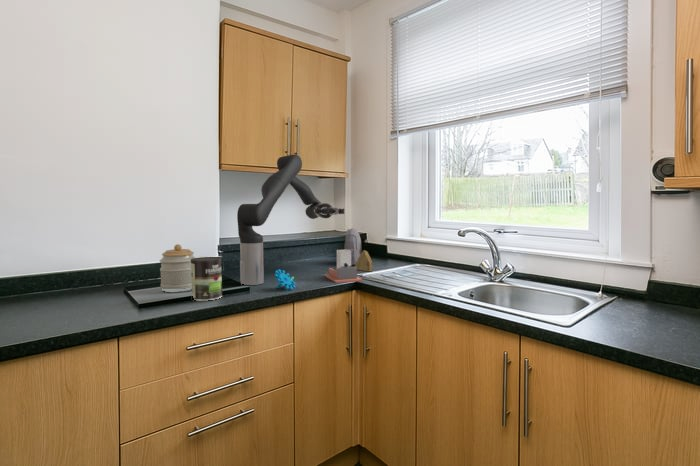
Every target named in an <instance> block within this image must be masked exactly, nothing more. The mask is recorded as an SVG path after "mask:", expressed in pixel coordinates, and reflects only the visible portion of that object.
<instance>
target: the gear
mask: <svg viewBox="0 0 700 466" xmlns="http://www.w3.org/2000/svg"><path fill="white" fill-rule="evenodd" d="M274 271H275V272H274V275H273V276H274V278H276V279H275V280H276V282H277V283H278V284H277V286H275V287H276V289H277V288H278V289H279V288H280V287H284V289H286V290H289V291H293V290H294V289H295V288H296V282H295V281H294V279H295V277H294V275H293V276H292V277H290V274H289V272H287V273H286V271H285V270H284V269H283V270H281V269H277V270H274Z"/></svg>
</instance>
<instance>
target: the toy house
mask: <svg viewBox="0 0 700 466" xmlns="http://www.w3.org/2000/svg"><path fill="white" fill-rule="evenodd" d="M354 267H357V271H363V272H364V271H365V272H373V271H374V269H373V268H374V266H373V261H372V258H371V256H370V254H369V251H367V250H365V249H363V250H362V251H361V255H360V256H359V258H358V260H357V262H356V264H355V265H354Z"/></svg>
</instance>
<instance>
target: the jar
mask: <svg viewBox="0 0 700 466" xmlns="http://www.w3.org/2000/svg"><path fill="white" fill-rule="evenodd" d="M161 256H162V257H161V259H159V262H160V263H161V264H160V265H161V267H160V268H159V271H160V289H161V288H163V289H186V288H191V287H192V277H191V259H193V258H196V257H195V256H194V251H192V250H190V249H189V248H187V249H185V248H182V245H181V244H179V243H178V244H175V245H174V247H173V249H169V250H165V252H163V253H161Z"/></svg>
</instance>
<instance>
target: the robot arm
mask: <svg viewBox="0 0 700 466" xmlns="http://www.w3.org/2000/svg"><path fill="white" fill-rule="evenodd" d="M276 161H277V162H276V166H277V170H278V171H276V172H275V173H273V174H271V175H270V176H269V177H267V179H266V180H265V181H264V182H263V184H262V186H261V188H260V189H261V196H262V199H261V200H260V202H258V203H242V204H240V205H239V206H238V210H237V214H236V215H237V218H236V219H237V221H236V222H237V232H238V237H239V247H240V259H239V267H240V268H239V275H240V276H239V277H240V279H239V281H240V284H241V285H242V284H244V285H243V286H258V285H262V284H264V282H265V279H264V276H265V275H264V274H265V273H264V272H265V271H264V236H263V235H262V234H260V233H258V232H256V231H255V230H254V229H253V227H261V226H263V225H264V224H265V223H266V221H267V220H268V218H269V216H270V214H271V212H272V210H273V208H274V206H276V204H277V201H278V200H279V199H280V197H281V196H282V195H283V194H284V192H285V191H286V189H287V187H288V186H289V185H290V186H291V187H292V189H294V191H295V192H296V194H297V195H298V197H299V198H300V200H301V202H302V203H303V205H305V206H307V207H306V209H305V210H304V211H305V215H306V217H308V218H309V219H311V220H314V219H318V218H321V219H330V217H332V216H334V215H335V216H337V215H344V214H345V208H338V207H333V206H332V205H331V204H330V203H326V202H321V201H320V200H319V199H318V198H317V197H316V196H315V195H314V193H313V191H312V189H311V188H310V186H309V185H307V183H305V182H304V181H302V180H301V179H299V178H298V177H297V175H298V174H299V173H300V172H301V170H302V167H303V160H302V158H301V157H300V156H299V155H297V154H288V155H283V156H281V157H280V156H279V158H278V159H277V160H276Z"/></svg>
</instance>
